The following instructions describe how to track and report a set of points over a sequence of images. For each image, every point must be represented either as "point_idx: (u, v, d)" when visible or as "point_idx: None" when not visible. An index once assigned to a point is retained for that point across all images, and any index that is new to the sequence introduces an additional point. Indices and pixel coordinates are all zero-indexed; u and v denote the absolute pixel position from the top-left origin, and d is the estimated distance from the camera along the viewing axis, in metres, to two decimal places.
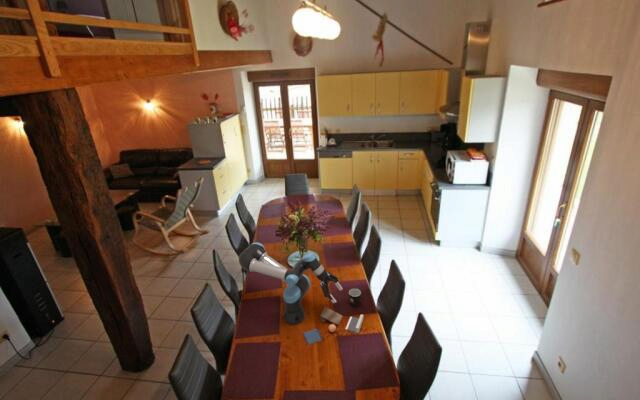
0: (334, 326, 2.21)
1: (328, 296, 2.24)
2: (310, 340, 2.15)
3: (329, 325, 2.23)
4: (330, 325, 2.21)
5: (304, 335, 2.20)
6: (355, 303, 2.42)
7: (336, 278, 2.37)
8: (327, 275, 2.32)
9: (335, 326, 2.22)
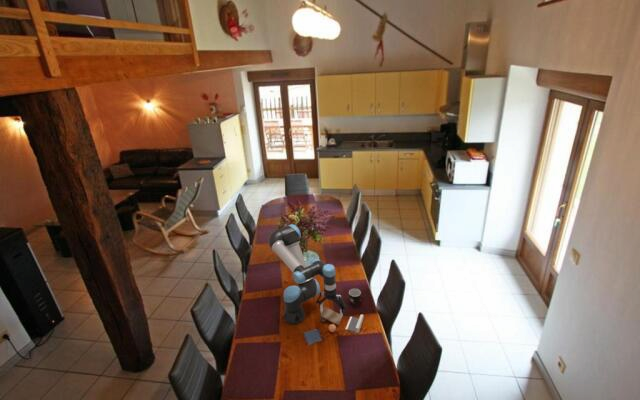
0: (334, 326, 2.21)
1: None
2: (310, 340, 2.15)
3: (329, 325, 2.23)
4: (330, 325, 2.21)
5: (304, 335, 2.20)
6: (355, 303, 2.42)
7: (343, 307, 2.10)
8: (334, 296, 2.09)
9: (335, 326, 2.22)
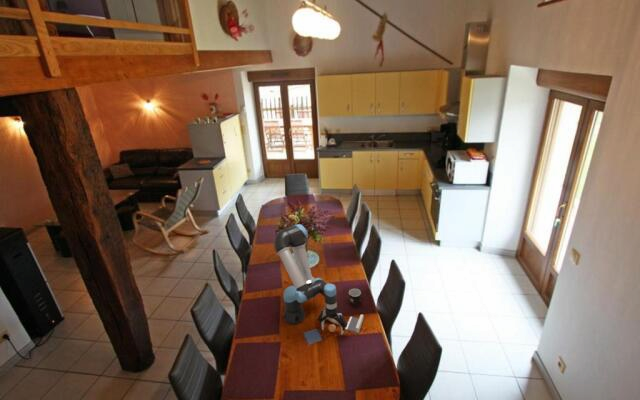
0: (334, 326, 2.21)
1: (320, 320, 2.23)
2: (310, 340, 2.15)
3: (329, 325, 2.23)
4: (330, 325, 2.21)
5: (304, 335, 2.20)
6: (355, 303, 2.42)
7: (344, 325, 2.15)
8: (335, 314, 2.15)
9: (335, 326, 2.22)
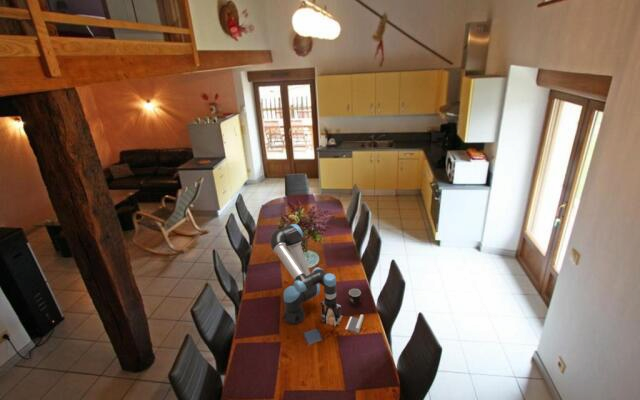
0: (333, 319, 2.19)
1: (324, 314, 2.20)
2: (310, 340, 2.15)
3: (328, 318, 2.20)
4: (329, 318, 2.19)
5: (304, 335, 2.20)
6: (355, 303, 2.42)
7: (337, 316, 2.15)
8: (334, 304, 2.12)
9: None
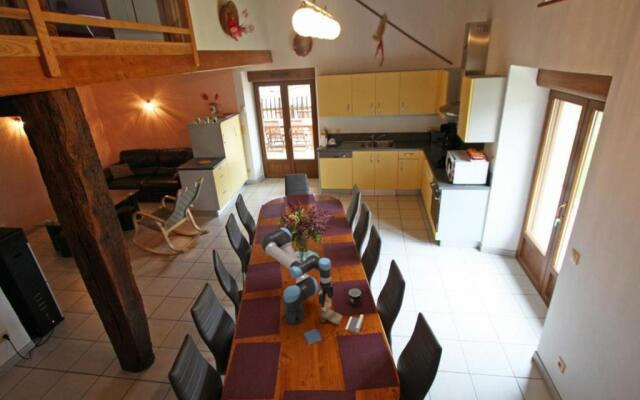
0: None
1: None
2: (310, 340, 2.15)
3: None
4: None
5: (304, 335, 2.20)
6: (355, 303, 2.42)
7: (332, 294, 2.25)
8: None
9: None
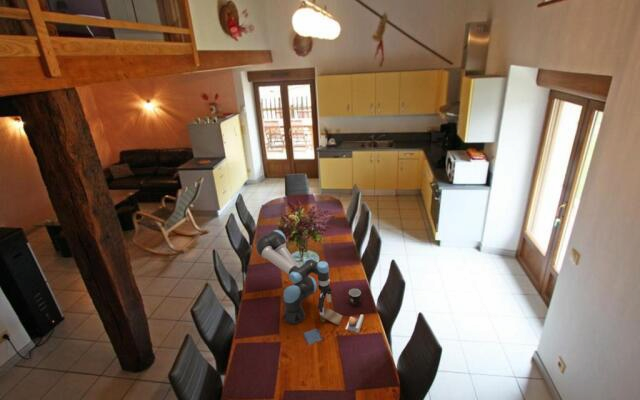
0: None
1: None
2: (310, 340, 2.15)
3: (352, 324, 2.25)
4: (352, 324, 2.26)
5: (304, 335, 2.20)
6: (355, 303, 2.42)
7: (330, 290, 2.34)
8: None
9: None
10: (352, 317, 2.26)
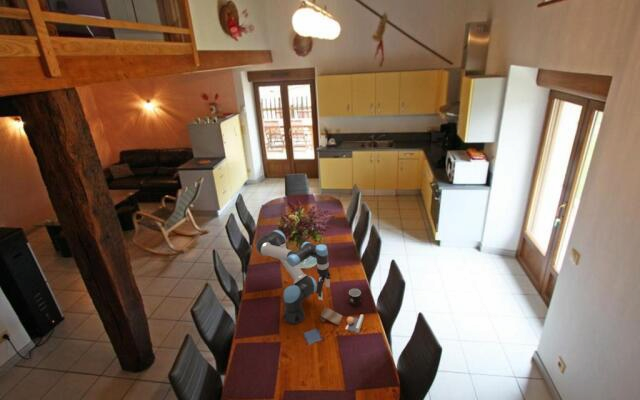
0: None
1: None
2: (310, 340, 2.15)
3: (351, 323, 2.25)
4: (352, 323, 2.26)
5: (304, 335, 2.20)
6: (355, 303, 2.42)
7: (329, 275, 2.29)
8: None
9: None
10: (348, 317, 2.27)
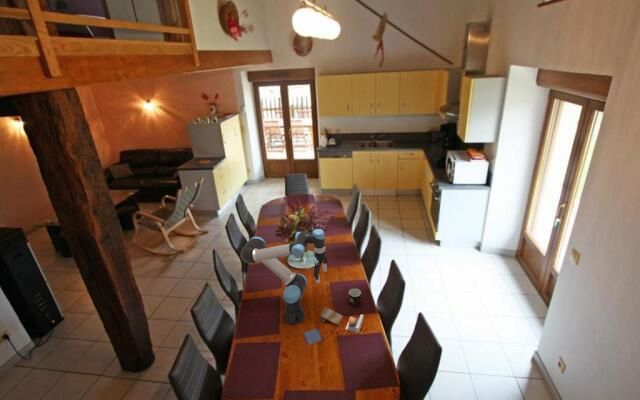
0: None
1: None
2: (310, 340, 2.15)
3: (352, 324, 2.25)
4: (352, 324, 2.26)
5: (304, 335, 2.20)
6: (355, 303, 2.42)
7: (326, 260, 2.37)
8: None
9: None
10: (352, 317, 2.26)
